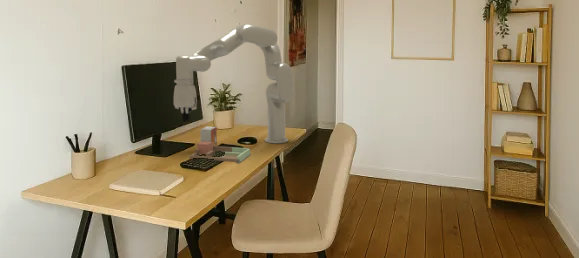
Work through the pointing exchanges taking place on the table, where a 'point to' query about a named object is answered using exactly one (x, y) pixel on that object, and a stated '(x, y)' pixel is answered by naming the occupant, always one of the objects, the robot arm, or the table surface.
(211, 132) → the small box
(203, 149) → the block
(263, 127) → the table surface
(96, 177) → the table surface
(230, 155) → the tray
